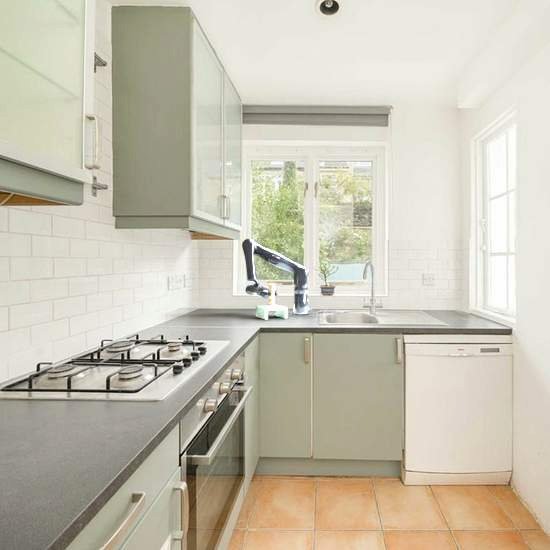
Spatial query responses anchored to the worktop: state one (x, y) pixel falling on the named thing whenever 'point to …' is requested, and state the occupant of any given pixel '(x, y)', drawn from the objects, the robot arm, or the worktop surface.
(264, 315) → the shelf
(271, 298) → the stick
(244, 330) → the worktop surface
